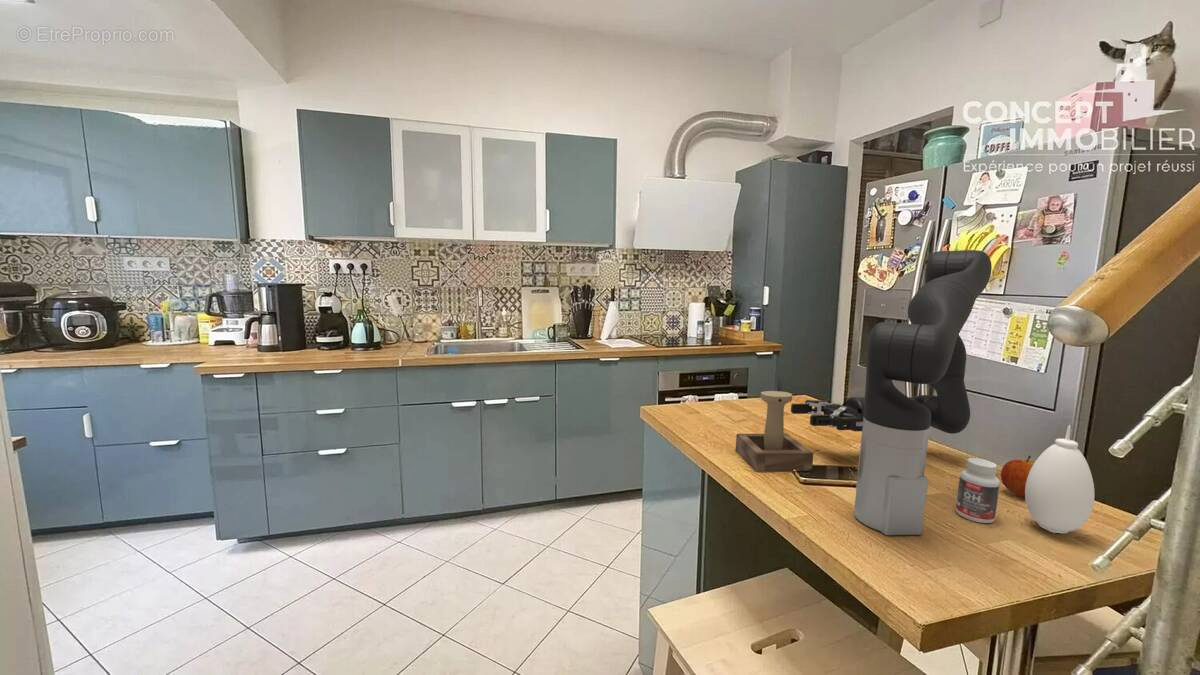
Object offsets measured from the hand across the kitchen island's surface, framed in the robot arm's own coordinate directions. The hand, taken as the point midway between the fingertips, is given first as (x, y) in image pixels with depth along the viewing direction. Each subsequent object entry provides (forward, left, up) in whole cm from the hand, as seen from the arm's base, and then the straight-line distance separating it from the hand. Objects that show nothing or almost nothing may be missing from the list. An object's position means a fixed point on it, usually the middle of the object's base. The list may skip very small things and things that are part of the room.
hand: (800, 414), depth 104 cm
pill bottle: (-25, -19, -11) cm, 33 cm away
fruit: (-18, -35, -11) cm, 41 cm away
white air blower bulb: (-30, -28, -11) cm, 43 cm away
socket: (0, +6, -10) cm, 12 cm away
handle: (0, +6, -11) cm, 12 cm away
